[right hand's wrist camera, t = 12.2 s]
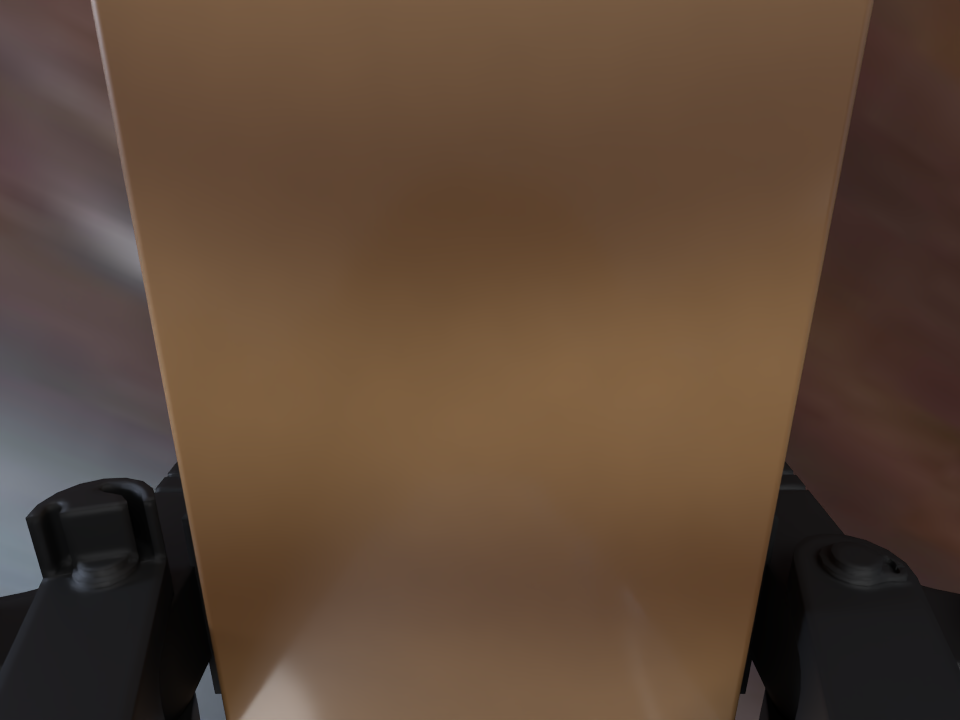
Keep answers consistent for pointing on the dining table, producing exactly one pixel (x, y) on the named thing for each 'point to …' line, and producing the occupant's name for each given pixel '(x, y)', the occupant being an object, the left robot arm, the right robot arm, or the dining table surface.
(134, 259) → the dining table surface
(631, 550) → the bar
